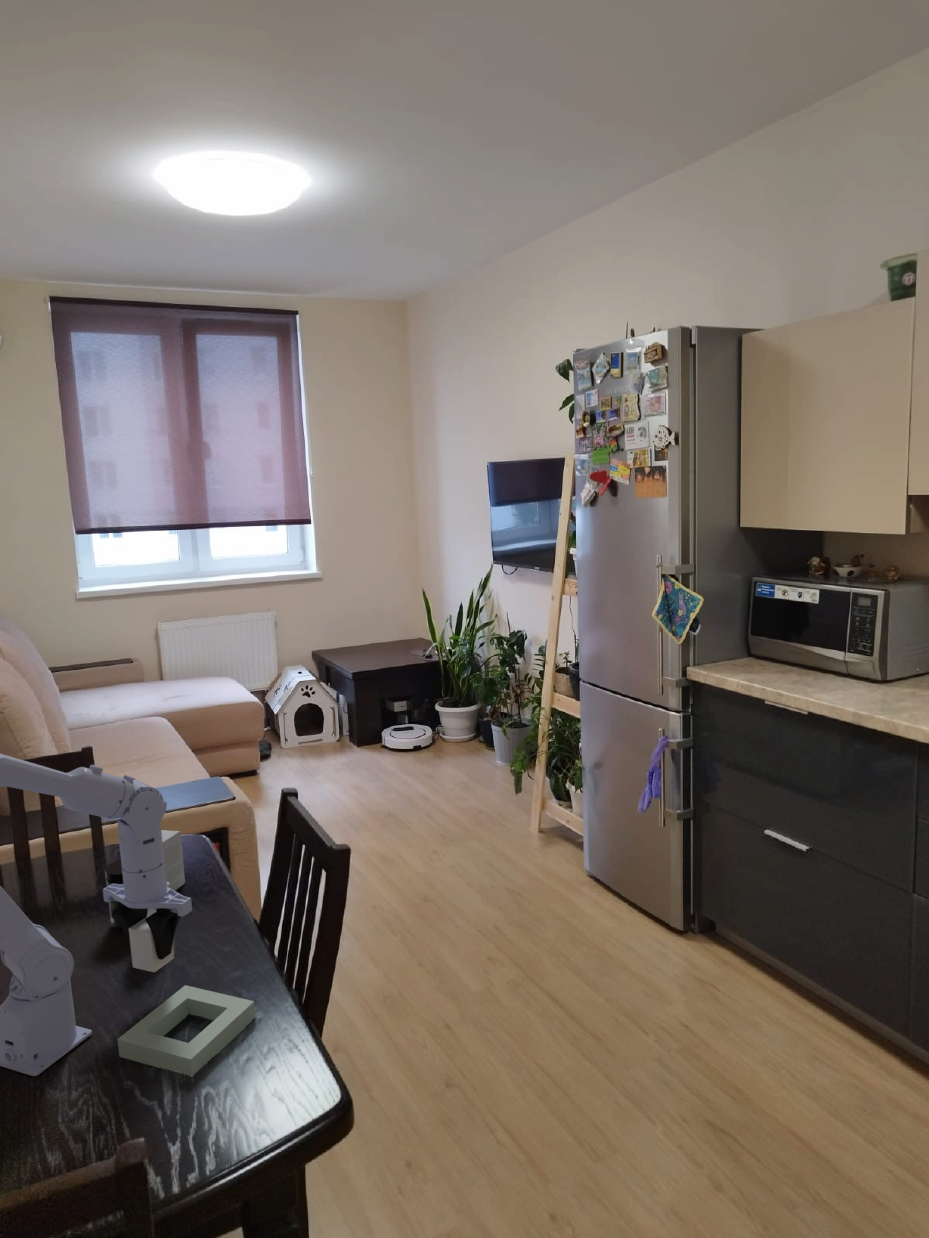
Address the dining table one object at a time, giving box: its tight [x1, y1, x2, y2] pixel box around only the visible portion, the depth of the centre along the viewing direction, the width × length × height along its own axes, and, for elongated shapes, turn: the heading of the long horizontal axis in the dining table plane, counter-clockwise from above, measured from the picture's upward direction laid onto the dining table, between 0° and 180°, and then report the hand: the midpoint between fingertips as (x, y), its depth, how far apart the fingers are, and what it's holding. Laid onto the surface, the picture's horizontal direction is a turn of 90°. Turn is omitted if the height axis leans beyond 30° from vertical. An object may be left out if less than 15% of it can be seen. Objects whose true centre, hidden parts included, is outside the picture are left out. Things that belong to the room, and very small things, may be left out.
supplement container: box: [104, 858, 124, 932], centre depth 148 cm, size 7×7×10 cm
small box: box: [161, 829, 186, 891], centre depth 161 cm, size 8×6×10 cm
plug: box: [129, 916, 176, 973], centre depth 126 cm, size 5×4×6 cm
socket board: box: [116, 984, 256, 1075], centre depth 117 cm, size 13×12×2 cm
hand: (152, 953), depth 126 cm, fingers closed on plug, 4 cm apart
